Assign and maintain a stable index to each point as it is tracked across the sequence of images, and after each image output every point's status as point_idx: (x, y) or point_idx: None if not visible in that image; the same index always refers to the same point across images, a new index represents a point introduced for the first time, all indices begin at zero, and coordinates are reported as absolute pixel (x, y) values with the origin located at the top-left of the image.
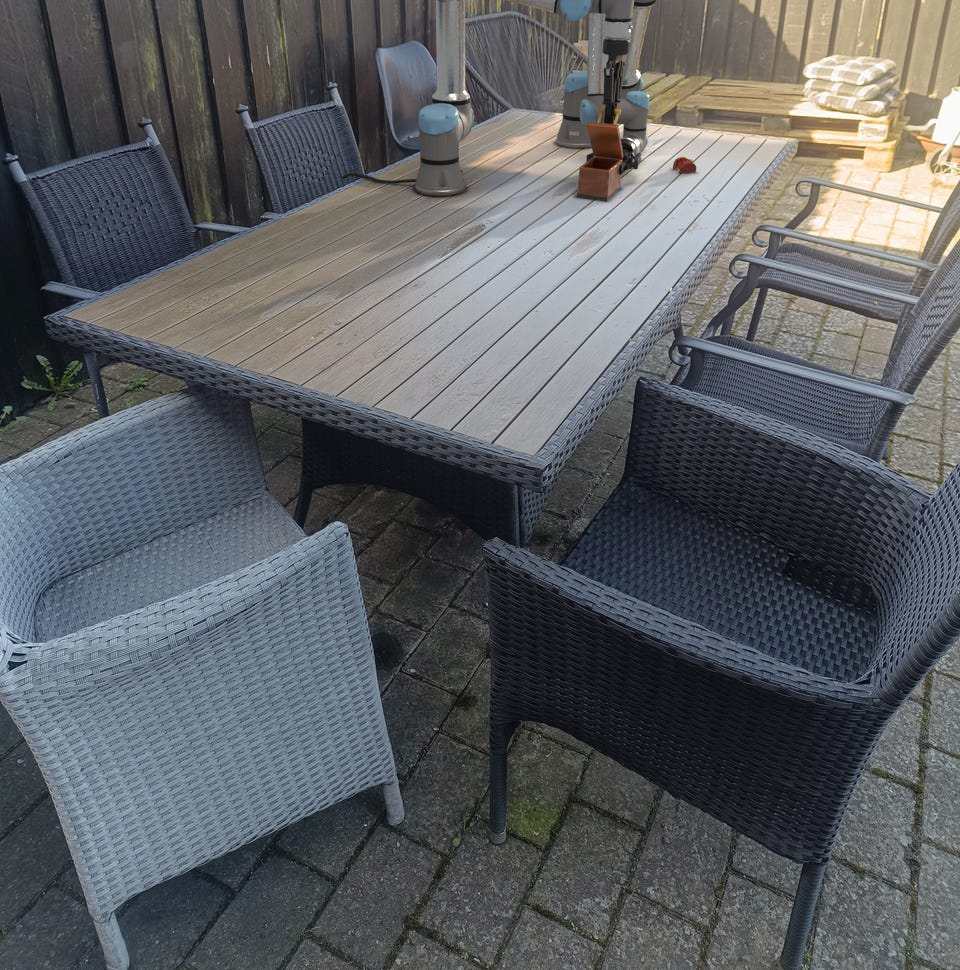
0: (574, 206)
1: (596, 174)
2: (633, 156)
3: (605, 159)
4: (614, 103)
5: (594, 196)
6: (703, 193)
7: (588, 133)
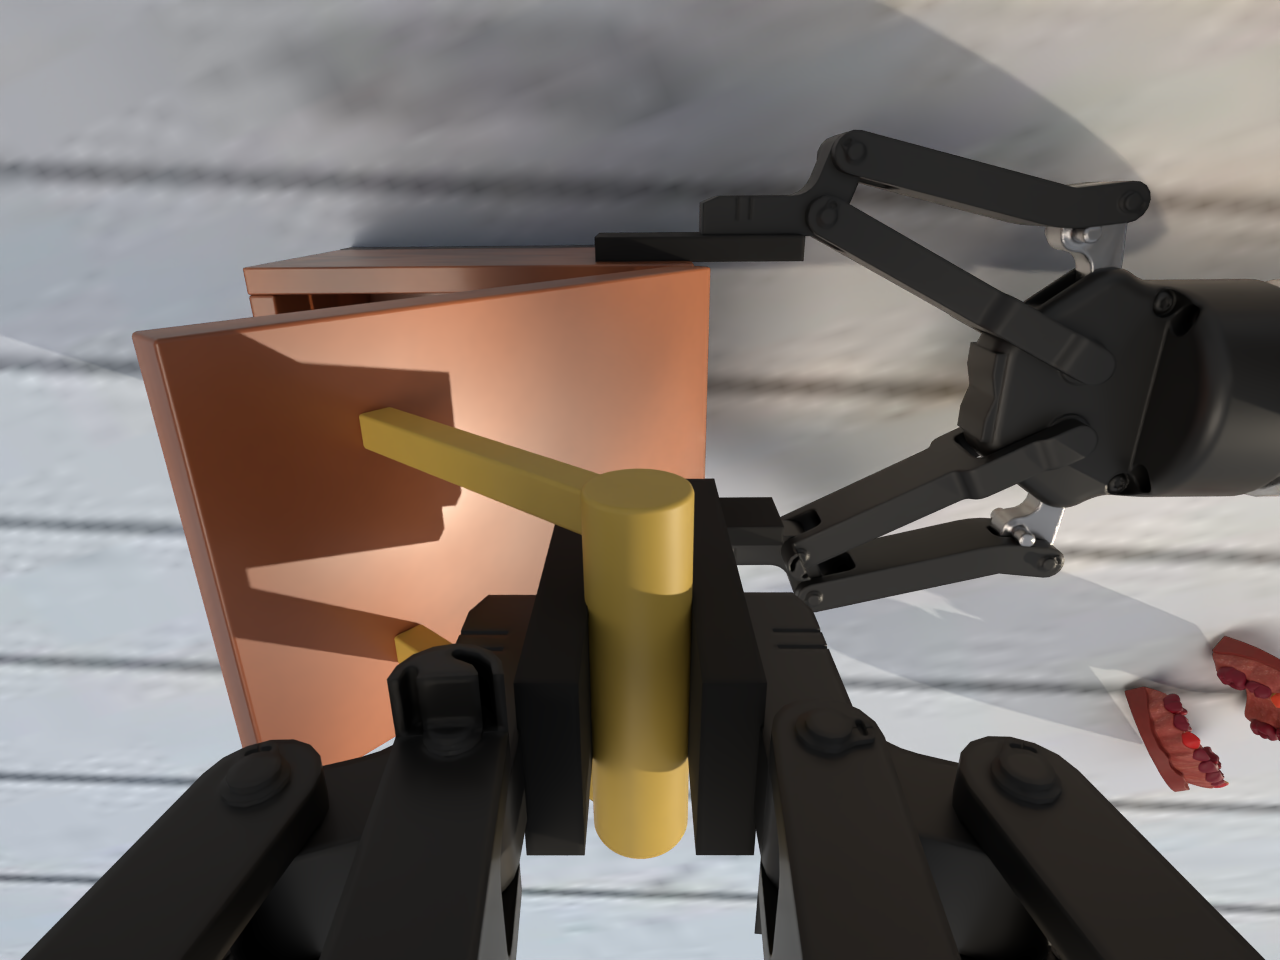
0: (161, 298)
1: None
2: (1030, 511)
3: None
4: (710, 813)
5: None
6: None
7: (354, 306)
